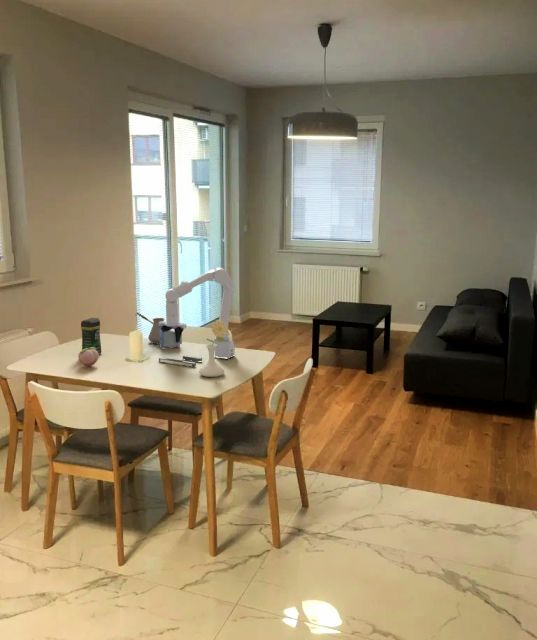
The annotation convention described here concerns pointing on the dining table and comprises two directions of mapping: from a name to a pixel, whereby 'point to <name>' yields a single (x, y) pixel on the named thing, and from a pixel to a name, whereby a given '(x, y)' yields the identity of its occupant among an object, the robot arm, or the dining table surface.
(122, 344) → the dining table surface
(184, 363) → the price rail
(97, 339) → the coffee jar
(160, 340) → the ink cartridge box
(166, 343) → the carton
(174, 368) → the dining table surface
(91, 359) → the decorative fruit
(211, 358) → the flower in vase
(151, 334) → the coffee pot
